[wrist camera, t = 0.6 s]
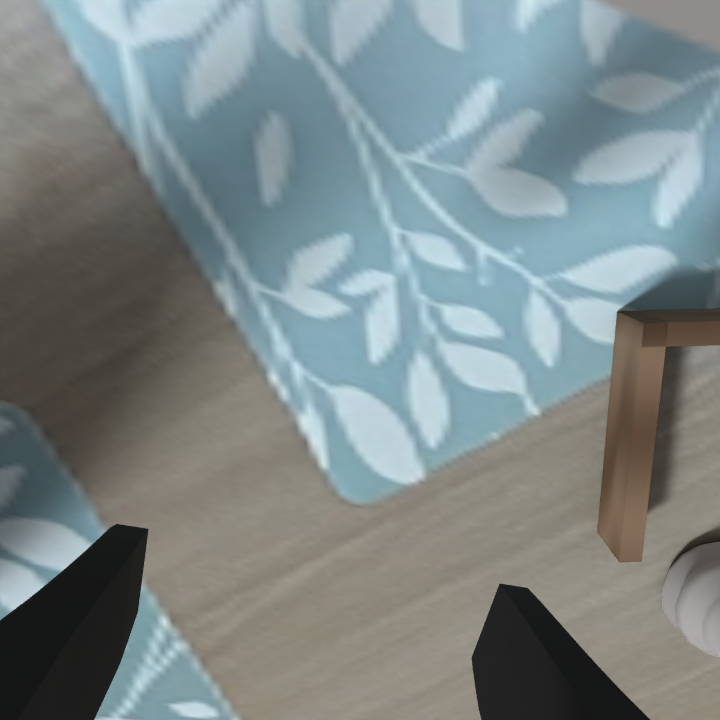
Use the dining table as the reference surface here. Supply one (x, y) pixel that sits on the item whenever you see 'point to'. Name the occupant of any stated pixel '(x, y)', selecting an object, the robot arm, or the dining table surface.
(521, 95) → the dining table surface
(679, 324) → the bay
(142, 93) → the dining table surface
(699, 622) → the rook chess piece
